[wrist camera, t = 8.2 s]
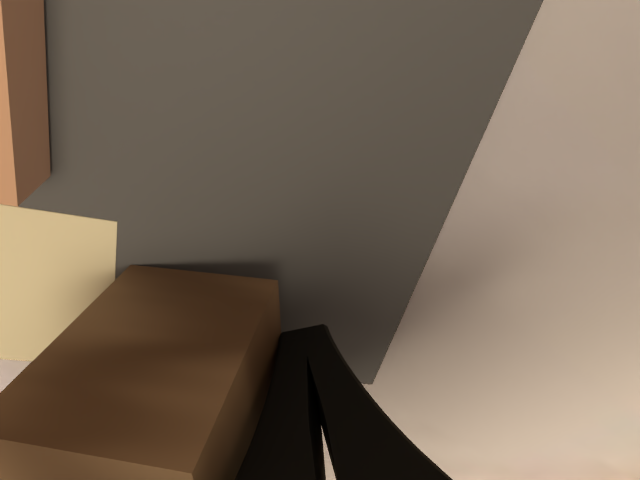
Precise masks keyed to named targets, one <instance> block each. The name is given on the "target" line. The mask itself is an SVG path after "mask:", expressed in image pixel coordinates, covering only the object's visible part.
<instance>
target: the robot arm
mask: <svg viewBox="0 0 640 480" xmlns="http://www.w3.org/2000/svg"><path fill="white" fill-rule="evenodd" d="M321 426H322V429H323V433H324V437H325V440H326V444H327V448H328V451H329V455H330V459H331V462H332V466H333V470H334V473H335V477H336V480H452V479H451V478H450V477H449V476H448V475H447V474H446V473H445V472H443V471H442V470H441V469H440V468H439V467H438V466H437V465H436V464H435V463H434V462H432V461H431V460H430V459H429V458H428V457H427V456H426V455H425V454H424V453H423V452H422V451H420V450H419V449H418V448H417V447H416V446H415V445H414V444H413V443H412V442H411V441H410V440H409V439H408V438H407V437H406V435H405V434H404V433H403V432H402V431H401V430H400V429H399V428H398V427H397V426H396V425H395V424H394V423H393V422H392V421H391V419H390V418H389V417H388V416H387V415H386V414H385V413H384V411H383V410H382V409H381V408H380V407H379V406H378V404H377V403H376V402H375V401H374V399H373V398H372V397H371V396H370V394H369V393H368V392H367V391H366V389H365V388H364V387H363V385H362V384H361V383H360V381H359V380H358V378H357V377H356V376H355V374H354V373H353V371H352V370H351V368H350V367H349V365H348V364H347V362H346V361H345V359H344V358H343V356H342V354H341V353H340V351H339V349H338V348H337V346H336V344H335V342H334V340H333V338H332V336H331V334H330V332H329V329H328V326H326V325H324V324H320V325H315V326H310V327H306V328H301V329H296V330H291V331H286V332H282V333H281V334H280V337H279V340H278V349H277V356H276V361H275V366H274V370H273V375H272V378H271V382H270V386H269V390H268V393H267V397H266V400H265V403H264V406H263V409H262V412H261V415H260V418H259V421H258V424H257V427H256V430H255V433H254V435H253V438H252V440H251V443H250V445H249V448H248V450H247V453H246V455H245V457H244V460H243V462H242V464H241V467H240V469H239V471H238V473H237V475H236V478H235V480H326V476H325V464H324V453H323V441H322V429H321Z"/></svg>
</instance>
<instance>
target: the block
mask: <svg viewBox="0 0 640 480" xmlns="http://www.w3.org/2000/svg"><path fill="white" fill-rule="evenodd" d="M280 334H281V322H280V305H279V288H278V280H272V279H263V278H253V277H244V276H234V275H225V274H215V273H205V272H196V271H186V270H177V269H167V268H158V267H148V266H138V265H130V266H129V267H128V268H127V269H126V270H125V271H124V272H123V273H122V274H121V275H120V276H119V277H118V278H117V279H116V280H115V281H114V282H113V283H112V284H111V285H110V286H108V287H107V288H106V289H105V290H104V291H103V292H102V293H101V294H100V295H99V296H98V297H97V298H96V299H95V300H94V301H93V302H92V303H91V304H90V305H89V306H88V307H87V308H86V309H85V310H84V311H83V312H82V313H81V314H80V315H79V316H78V317H77V318H76V319H75V320H74V321H73V322H72V323H71V324H70V325H69V326H68V327H67V328H66V329H65V330H64V331H63V332H62V333H61V334H60V335H59V336H58V337H57V338H56V339H55V340H54V341H53V342H52V343H51V344H50V345H49V346H48V347H46V348H45V349H44V350H43V351H42V352H41V353H40V354H39V355H38V356H37V357H36V358H35V359H34V360H33V361H32V362H31V363H30V364H29V365H28V366H27V367H26V368H25V369H24V370H23V371H22V372H21V373H20V374H19V375H18V376H17V377H16V378H15V379H14V380H13V381H12V382H11V383H10V384H9V385H8V386H7V387H6V388H5V389H4V390H3V391H2V392H1V393H0V480H235V478H236V475H237V473H238V471H239V469H240V467H241V464H242V462H243V460H244V457H245V455H246V453H247V450H248V448H249V445H250V443H251V440H252V438H253V435H254V433H255V430H256V427H257V424H258V421H259V418H260V415H261V412H262V409H263V406H264V403H265V400H266V397H267V393H268V390H269V386H270V382H271V378H272V375H273V370H274V366H275V361H276V356H277V349H278V340H279V337H280Z"/></svg>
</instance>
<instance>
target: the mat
mask: <svg viewBox="0 0 640 480" xmlns="http://www.w3.org/2000/svg"><path fill="white" fill-rule="evenodd" d="M542 2H543V0H44V24H45V49H46V74H47V99H48V124H49V149H50V173H51V176H50V177H49V178H48V179H47V180H46V181H45V182H44V183H42V184H41V185H40V186H39V187H38V188H37V189H36V190H35V191H34V192H33V193H32V194H31V195H30V196H29V197H27V198H26V199H25V200H24V201H23V202H22V203H21V204H20V205H19V206H18V207H17V206H10V205H3V204H0V359H7V360H21V361H33V360H34V359H35V358H36V357H37V356H38V355H39V354H40V353H41V352H42V351H43V350H44V349H45V348H46V347H48V346H49V345H50V344H51V343H52V342H53V341H54V340H55V339H56V338H57V337H58V336H59V335H60V334H61V333H62V332H63V331H64V330H65V329H66V328H67V327H68V326H69V325H70V324H71V323H72V322H73V321H74V320H75V319H76V318H77V317H78V316H79V315H80V314H81V313H82V312H83V311H84V310H85V309H86V308H87V307H88V306H89V305H90V304H91V303H92V302H93V301H94V300H95V299H96V298H97V297H98V296H99V295H100V294H101V293H102V292H103V291H104V290H105V289H106V288H107V287H108V286H110V285H111V284H112V283H113V282H114V281H115V280H116V279H117V278H118V277H119V276H120V275H121V274H122V273H123V272H124V271H125V270H126V269H127V268H128V267H129V266H130V265H138V266H148V267H158V268H167V269H177V270H186V271H196V272H205V273H215V274H225V275H234V276H244V277H253V278H263V279H272V280H278V288H279V305H280V322H281V333H282V332H286V331H291V330H296V329H301V328H306V327H310V326H315V325H320V324H324V325H326V326H328V329H329V332H330V334H331V336H332V338H333V340H334V342H335V344H336V346H337V348H338V349H339V351H340V353H341V354H342V356H343V358H344V359H345V361H346V362H347V364H348V365H349V367H350V368H351V370H352V371H353V373H354V374H355V376H356V377H357V378H358V380H359V381H360V383H363V384H372V383H373V381H374V379H375V377H376V374H377V372H378V370H379V368H380V365H381V363H382V361H383V359H384V356H385V354H386V352H387V350H388V347H389V345H390V343H391V341H392V338H393V336H394V334H395V332H396V329H397V327H398V325H399V323H400V320H401V318H402V316H403V314H404V312H405V309H406V307H407V305H408V303H409V300H410V298H411V296H412V294H413V291H414V289H415V287H416V285H417V282H418V280H419V278H420V276H421V273H422V271H423V269H424V267H425V264H426V262H427V260H428V258H429V255H430V253H431V251H432V249H433V246H434V244H435V242H436V240H437V238H438V235H439V233H440V231H441V229H442V226H443V224H444V222H445V220H446V217H447V215H448V213H449V211H450V208H451V206H452V204H453V202H454V199H455V197H456V195H457V193H458V190H459V188H460V186H461V184H462V181H463V179H464V177H465V175H466V173H467V170H468V168H469V166H470V164H471V161H472V159H473V157H474V155H475V152H476V150H477V148H478V146H479V143H480V141H481V139H482V137H483V134H484V132H485V130H486V128H487V125H488V123H489V121H490V119H491V116H492V114H493V112H494V110H495V107H496V105H497V103H498V101H499V99H500V96H501V94H502V92H503V90H504V87H505V85H506V83H507V81H508V78H509V76H510V74H511V72H512V69H513V67H514V65H515V63H516V60H517V58H518V56H519V54H520V51H521V49H522V47H523V45H524V42H525V40H526V38H527V36H528V33H529V31H530V29H531V27H532V25H533V22H534V20H535V18H536V16H537V13H538V11H539V9H540V7H541V4H542Z"/></svg>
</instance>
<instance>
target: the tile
mask: <svg viewBox="0 0 640 480" xmlns="http://www.w3.org/2000/svg"><path fill="white" fill-rule="evenodd" d="M50 176H51V173H50V149H49V124H48V99H47V74H46V49H45V24H44V0H0V204H3V205H10V206H17V207H18V206H19V205H20V204H21V203H22V202H23V201H24V200H25V199H26V198H27V197H29V196H30V195H31V194H32V193H33V192H34V191H35V190H36V189H37V188H38V187H39V186H40V185H41V184H42V183H44V182H45V181H46V180H47V179H48V178H49V177H50Z"/></svg>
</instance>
